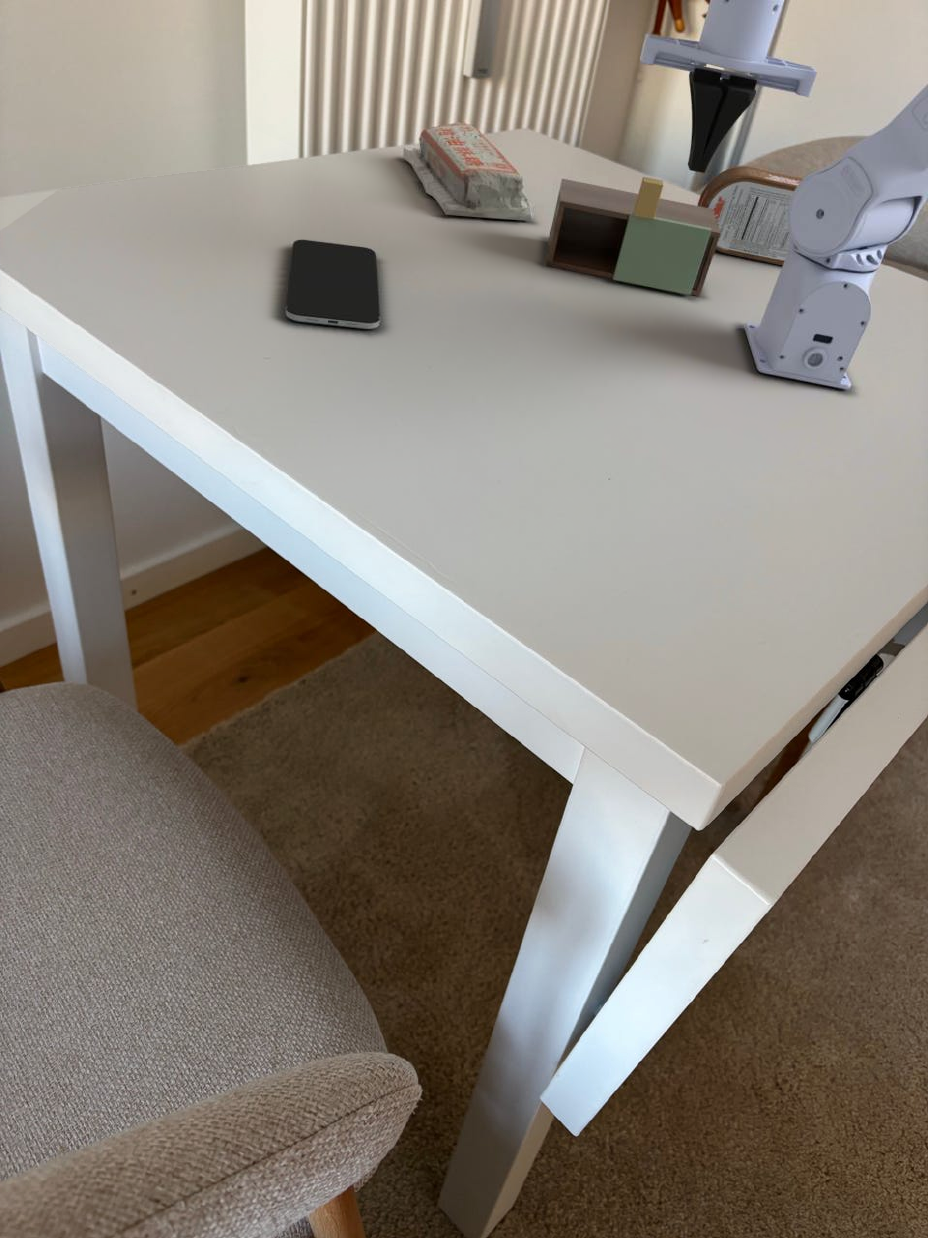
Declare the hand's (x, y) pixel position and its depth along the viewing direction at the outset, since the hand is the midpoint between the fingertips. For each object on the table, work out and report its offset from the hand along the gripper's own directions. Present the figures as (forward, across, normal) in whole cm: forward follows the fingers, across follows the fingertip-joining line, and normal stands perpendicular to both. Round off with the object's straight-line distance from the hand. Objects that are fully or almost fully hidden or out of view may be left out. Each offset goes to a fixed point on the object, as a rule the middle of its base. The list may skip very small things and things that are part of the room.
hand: (696, 168), depth 84 cm
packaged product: (+10, +21, -16) cm, 28 cm away
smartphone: (+10, +29, +16) cm, 35 cm away
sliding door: (+10, +1, +3) cm, 10 cm away
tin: (+10, -11, -12) cm, 20 cm away
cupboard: (+10, +4, -2) cm, 11 cm away
